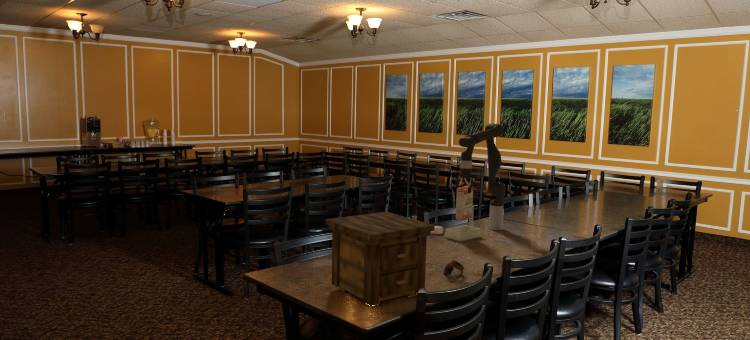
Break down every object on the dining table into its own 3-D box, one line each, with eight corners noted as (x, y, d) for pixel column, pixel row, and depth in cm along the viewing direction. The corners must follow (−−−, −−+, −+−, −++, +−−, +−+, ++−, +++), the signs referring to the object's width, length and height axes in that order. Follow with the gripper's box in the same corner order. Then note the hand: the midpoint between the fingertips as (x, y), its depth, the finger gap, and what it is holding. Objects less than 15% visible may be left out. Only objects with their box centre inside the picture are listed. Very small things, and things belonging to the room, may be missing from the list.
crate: (385, 275, 263) (386, 211, 259) (432, 296, 235) (434, 225, 231) (324, 288, 242) (325, 219, 239) (368, 313, 214) (369, 235, 210)
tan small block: (436, 231, 363) (436, 225, 362) (445, 233, 356) (445, 227, 356) (428, 232, 358) (428, 226, 357) (436, 234, 351) (437, 229, 351)
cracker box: (463, 220, 337) (464, 188, 334) (455, 219, 340) (456, 187, 338) (472, 217, 348) (473, 186, 346) (464, 216, 352) (465, 185, 349)
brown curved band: (445, 271, 274) (454, 258, 273) (459, 282, 269) (468, 269, 268) (436, 271, 264) (445, 258, 262) (451, 283, 259) (460, 269, 258)
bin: (445, 237, 344) (445, 228, 343) (466, 233, 357) (466, 225, 356) (459, 241, 334) (460, 232, 334) (480, 237, 347) (481, 228, 347)
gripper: (478, 168, 337) (477, 193, 339) (461, 165, 348) (460, 190, 350) (470, 168, 332) (469, 194, 334) (453, 166, 343) (452, 191, 345)
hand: (465, 192), depth 342 cm, fingers closed on cracker box, 6 cm apart
